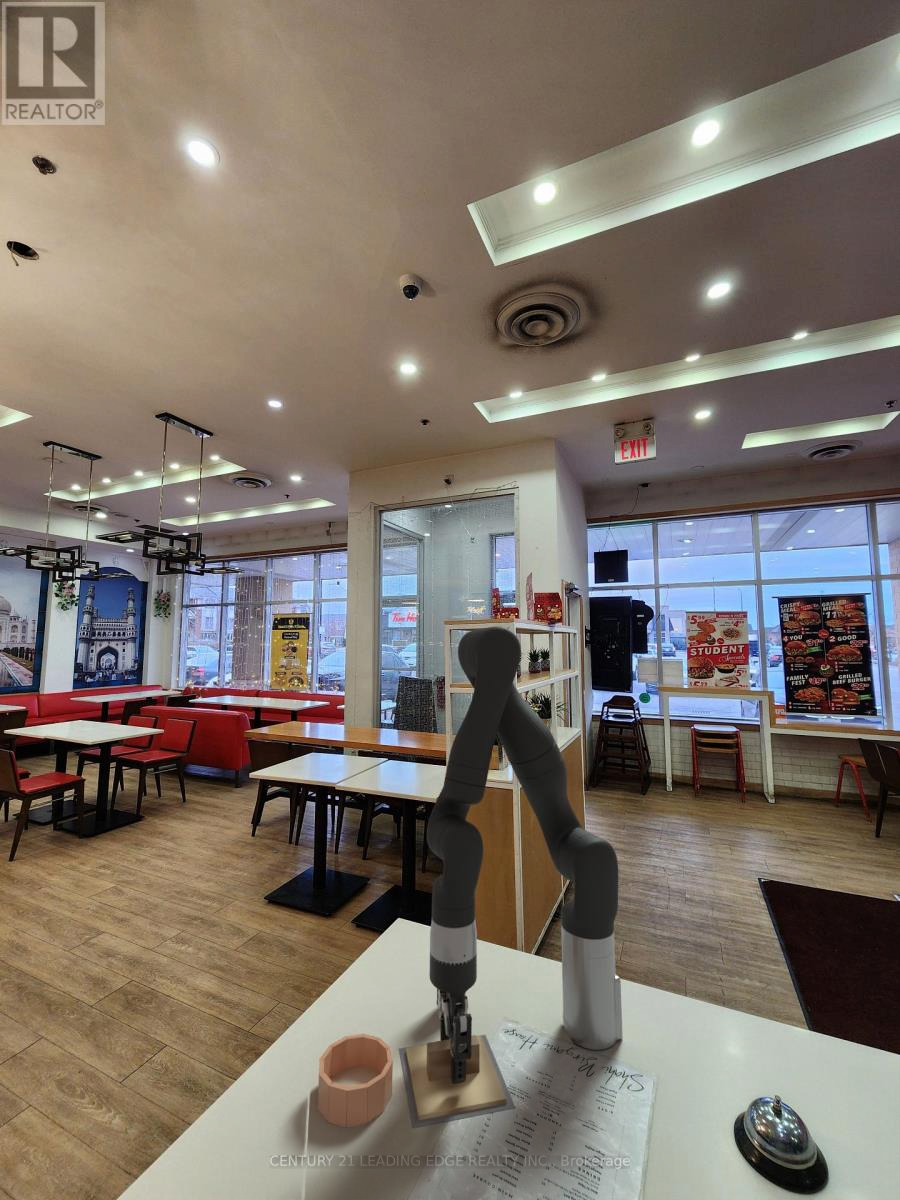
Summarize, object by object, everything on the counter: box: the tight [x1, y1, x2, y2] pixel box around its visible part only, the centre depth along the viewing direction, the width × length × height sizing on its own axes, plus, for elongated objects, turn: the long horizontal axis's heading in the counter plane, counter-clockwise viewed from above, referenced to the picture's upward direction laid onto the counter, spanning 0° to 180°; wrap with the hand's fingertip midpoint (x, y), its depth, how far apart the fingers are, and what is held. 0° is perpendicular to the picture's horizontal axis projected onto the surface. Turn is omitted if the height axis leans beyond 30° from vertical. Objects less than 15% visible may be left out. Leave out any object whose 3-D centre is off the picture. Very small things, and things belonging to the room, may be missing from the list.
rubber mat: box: [398, 1034, 516, 1129], centre depth 79 cm, size 15×15×1 cm
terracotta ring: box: [317, 1033, 394, 1128], centre depth 76 cm, size 11×11×5 cm
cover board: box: [405, 1034, 507, 1120], centre depth 79 cm, size 13×13×5 cm
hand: (452, 1061), depth 79 cm, fingers open, 7 cm apart
